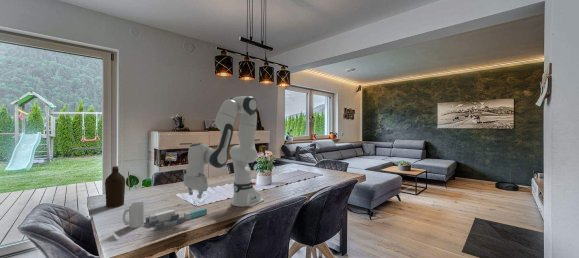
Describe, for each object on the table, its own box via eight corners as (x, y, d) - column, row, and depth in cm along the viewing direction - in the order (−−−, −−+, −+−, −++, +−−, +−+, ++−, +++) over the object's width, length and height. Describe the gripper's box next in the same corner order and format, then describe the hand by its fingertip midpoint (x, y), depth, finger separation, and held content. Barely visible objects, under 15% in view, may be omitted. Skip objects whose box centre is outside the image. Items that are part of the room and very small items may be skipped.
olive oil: (128, 204, 159) (128, 166, 158) (109, 209, 149) (109, 168, 149) (120, 201, 164) (120, 164, 163) (101, 206, 155) (101, 166, 154)
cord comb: (172, 216, 139) (172, 210, 139) (184, 223, 130) (184, 217, 130) (145, 224, 129) (145, 217, 129) (156, 232, 119) (156, 225, 119)
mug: (139, 223, 129) (140, 201, 129) (147, 226, 126) (147, 203, 126) (118, 230, 121) (119, 206, 120) (126, 233, 117) (126, 209, 117)
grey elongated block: (172, 216, 137) (172, 209, 137) (175, 218, 135) (175, 210, 135) (149, 222, 128) (149, 215, 128) (151, 224, 126) (151, 216, 126)
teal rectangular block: (204, 214, 144) (204, 207, 144) (206, 215, 142) (206, 208, 142) (183, 220, 134) (183, 213, 134) (186, 221, 132) (186, 214, 132)
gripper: (211, 174, 133) (210, 199, 133) (192, 168, 146) (191, 191, 146) (200, 175, 128) (199, 201, 128) (181, 170, 141) (181, 193, 141)
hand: (194, 196), depth 137 cm, fingers open, 8 cm apart
